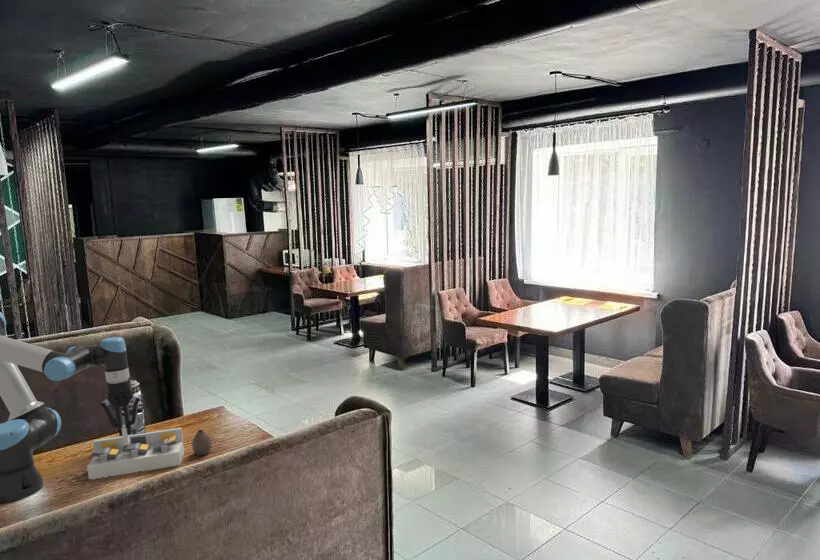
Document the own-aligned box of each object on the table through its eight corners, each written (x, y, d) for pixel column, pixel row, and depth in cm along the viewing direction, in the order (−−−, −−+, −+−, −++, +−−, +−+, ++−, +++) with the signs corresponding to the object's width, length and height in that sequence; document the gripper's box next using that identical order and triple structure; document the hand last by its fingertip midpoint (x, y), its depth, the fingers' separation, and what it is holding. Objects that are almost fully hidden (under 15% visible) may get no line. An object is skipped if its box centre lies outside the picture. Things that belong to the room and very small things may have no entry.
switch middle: (122, 452, 200) (123, 447, 200) (125, 447, 204) (126, 441, 204) (146, 454, 202) (147, 449, 202) (148, 449, 207) (149, 443, 207)
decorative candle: (131, 447, 222) (124, 386, 219) (118, 443, 227) (110, 383, 224) (152, 438, 230) (145, 379, 227) (139, 434, 235) (132, 377, 231)
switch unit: (88, 480, 195) (85, 452, 194) (97, 466, 206) (94, 440, 205) (180, 465, 203) (177, 438, 202) (184, 452, 214) (181, 427, 212)
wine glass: (138, 453, 216) (133, 416, 214) (120, 452, 217) (115, 415, 215) (152, 444, 223) (147, 408, 221) (134, 444, 225) (130, 408, 223)
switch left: (91, 456, 197) (92, 451, 197) (95, 451, 202) (96, 445, 202) (115, 459, 199) (116, 454, 199) (118, 454, 204) (120, 448, 204)
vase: (196, 458, 208) (194, 436, 207) (190, 453, 213) (188, 431, 212) (215, 452, 212) (212, 430, 211) (208, 447, 217) (206, 426, 216)
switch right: (154, 453, 203) (152, 448, 202) (156, 447, 207) (154, 443, 207) (176, 444, 204) (174, 439, 204) (178, 439, 209) (176, 434, 209)
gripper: (95, 386, 194) (104, 450, 197) (135, 380, 197) (144, 444, 200) (100, 380, 201) (109, 442, 204) (140, 375, 204) (148, 436, 207)
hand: (126, 443), depth 202 cm, fingers closed
